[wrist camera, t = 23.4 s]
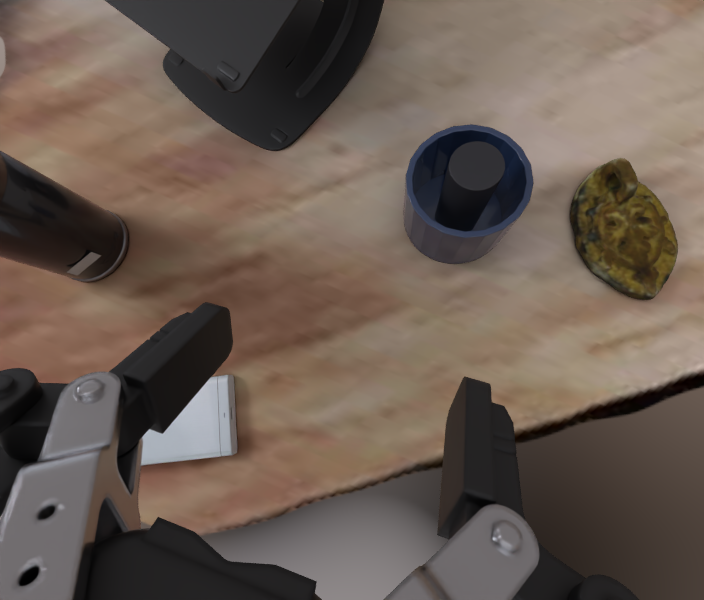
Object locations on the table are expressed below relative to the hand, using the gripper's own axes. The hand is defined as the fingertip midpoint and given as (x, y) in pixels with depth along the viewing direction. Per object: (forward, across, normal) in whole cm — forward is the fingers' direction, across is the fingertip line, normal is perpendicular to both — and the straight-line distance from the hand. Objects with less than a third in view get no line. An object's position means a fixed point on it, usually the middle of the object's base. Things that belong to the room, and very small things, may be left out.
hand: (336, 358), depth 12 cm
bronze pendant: (+34, -21, +4) cm, 40 cm away
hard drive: (+11, +19, +27) cm, 35 cm away
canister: (+32, -4, +5) cm, 32 cm away
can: (+32, -4, +6) cm, 33 cm away
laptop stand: (+44, +25, -6) cm, 51 cm away
